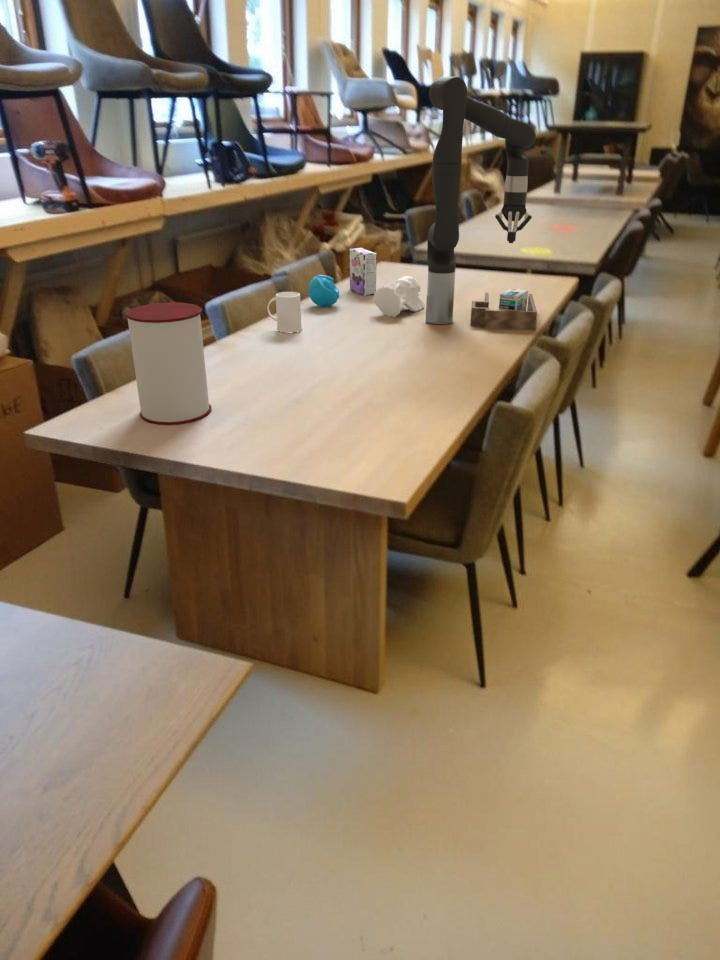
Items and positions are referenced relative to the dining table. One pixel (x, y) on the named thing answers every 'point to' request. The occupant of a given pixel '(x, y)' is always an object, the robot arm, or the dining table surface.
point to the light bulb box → (513, 300)
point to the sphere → (323, 291)
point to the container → (169, 362)
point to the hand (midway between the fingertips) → (511, 242)
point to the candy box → (363, 271)
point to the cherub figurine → (399, 297)
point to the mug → (287, 311)
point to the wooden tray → (503, 316)
